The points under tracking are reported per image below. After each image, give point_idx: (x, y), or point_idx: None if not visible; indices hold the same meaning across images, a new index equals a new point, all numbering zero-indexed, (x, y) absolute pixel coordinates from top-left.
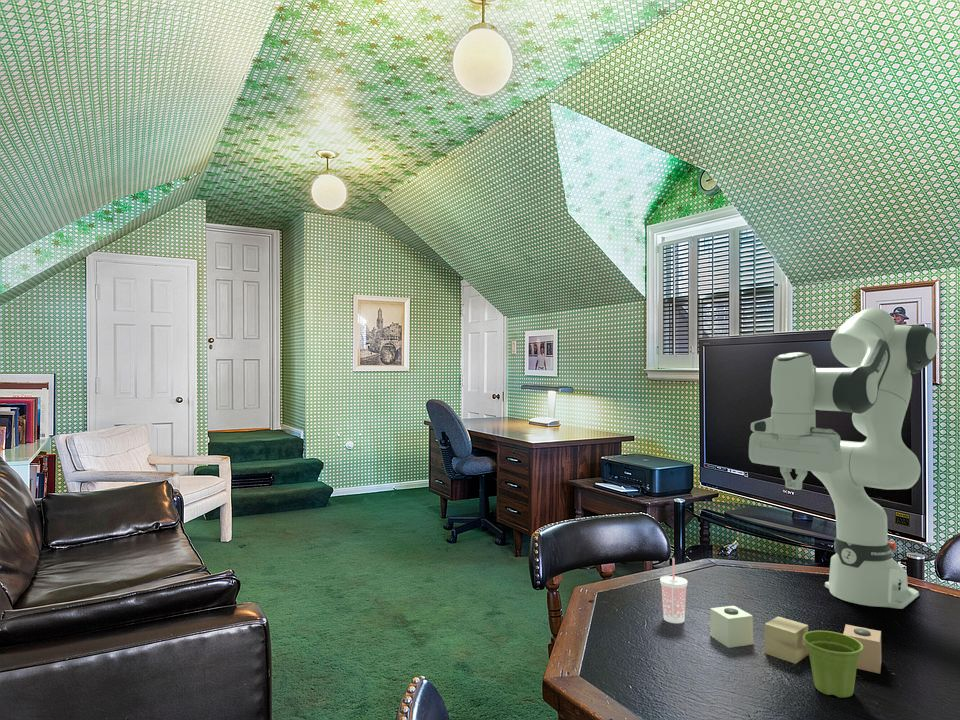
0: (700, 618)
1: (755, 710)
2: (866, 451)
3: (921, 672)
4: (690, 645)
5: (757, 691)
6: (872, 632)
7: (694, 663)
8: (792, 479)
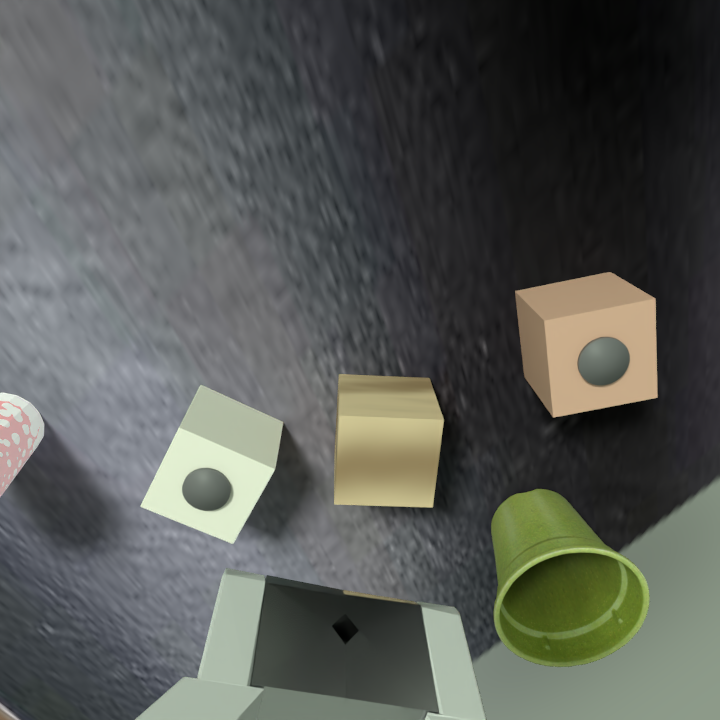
0: (56, 354)
1: None
2: None
3: (713, 266)
4: (167, 544)
5: None
6: (631, 330)
7: None
8: (261, 693)
